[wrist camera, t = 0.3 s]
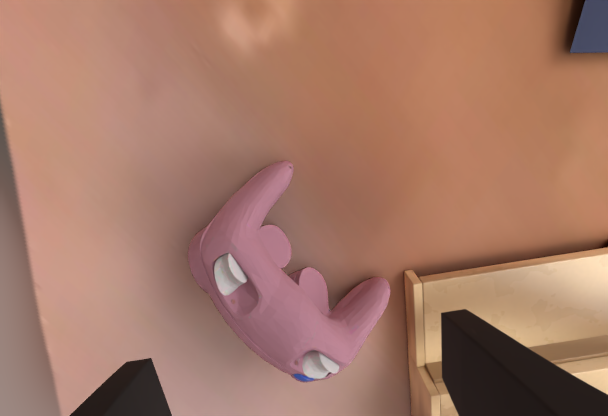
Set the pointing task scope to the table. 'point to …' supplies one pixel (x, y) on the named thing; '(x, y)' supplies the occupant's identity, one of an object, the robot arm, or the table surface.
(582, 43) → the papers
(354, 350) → the video game controller
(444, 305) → the step shelf
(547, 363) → the robot arm
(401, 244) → the table surface
